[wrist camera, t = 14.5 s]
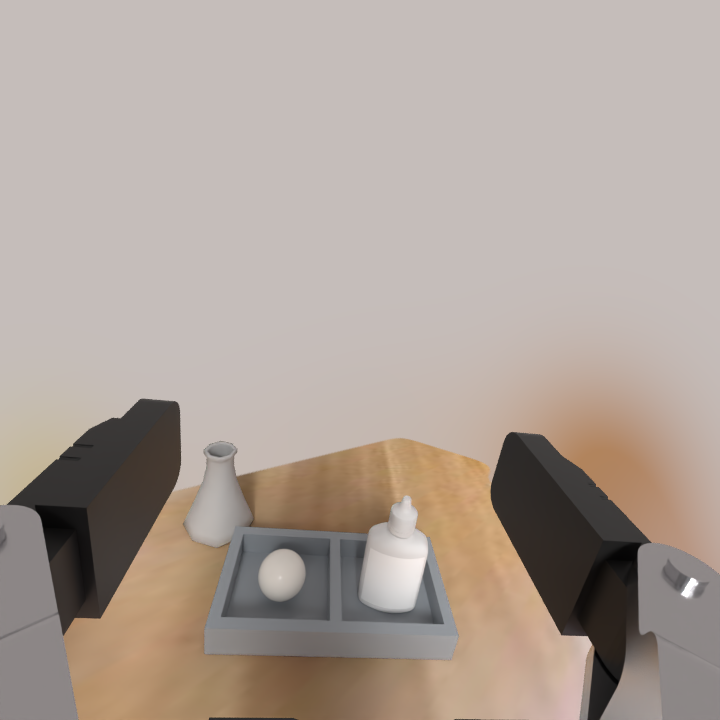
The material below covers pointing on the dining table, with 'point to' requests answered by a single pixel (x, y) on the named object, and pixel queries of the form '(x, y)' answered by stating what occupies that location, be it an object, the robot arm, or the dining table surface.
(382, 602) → the eye dropper bottle
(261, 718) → the robot arm
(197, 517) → the flask
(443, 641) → the holder
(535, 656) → the dining table surface
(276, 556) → the ceramic egg
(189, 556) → the dining table surface
